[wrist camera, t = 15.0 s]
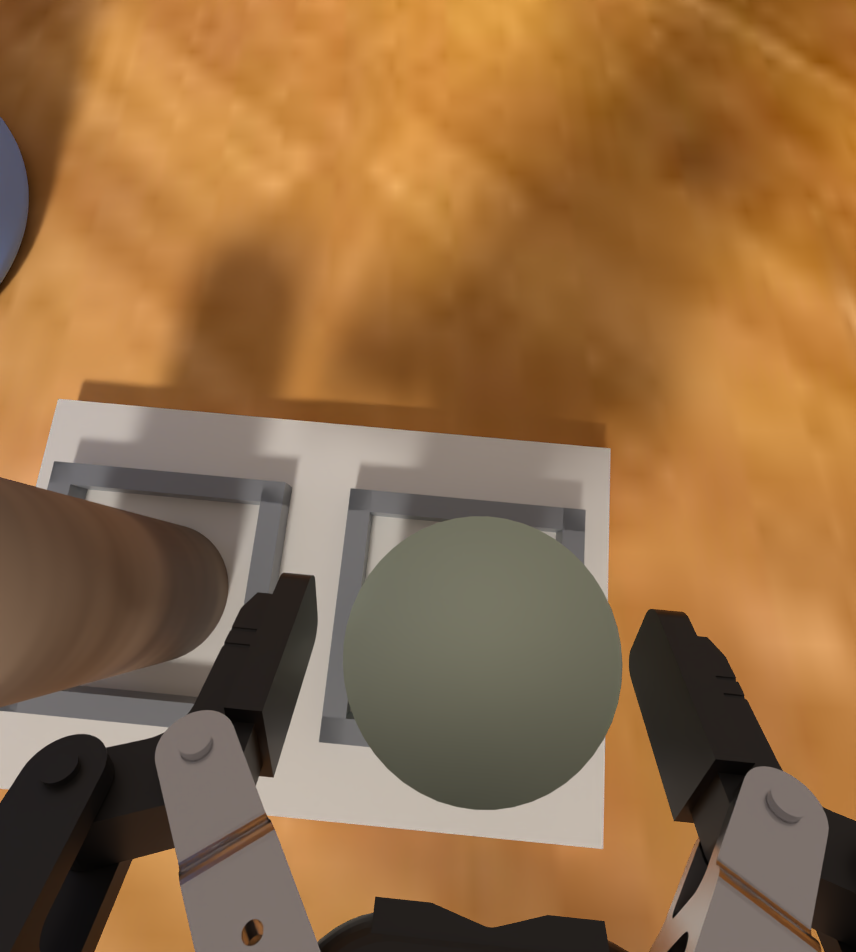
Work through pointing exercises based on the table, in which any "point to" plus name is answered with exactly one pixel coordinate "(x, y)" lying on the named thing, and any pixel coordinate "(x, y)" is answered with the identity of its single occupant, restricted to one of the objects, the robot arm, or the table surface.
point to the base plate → (336, 576)
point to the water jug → (11, 199)
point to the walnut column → (96, 591)
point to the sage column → (482, 663)
